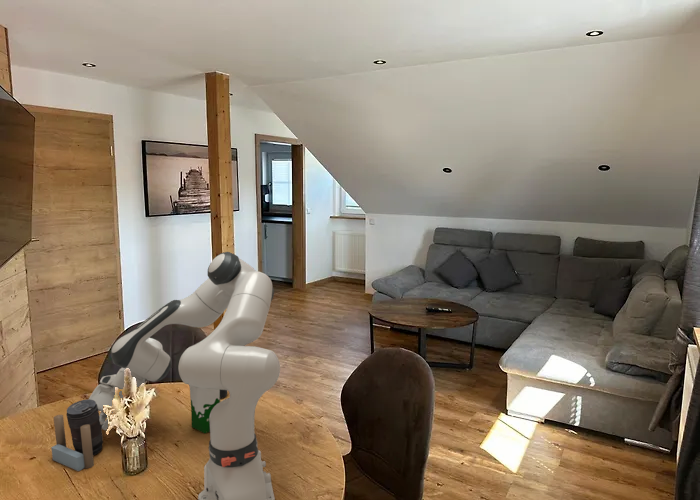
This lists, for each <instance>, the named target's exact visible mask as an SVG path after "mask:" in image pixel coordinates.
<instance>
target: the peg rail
mask: <svg viewBox="0 0 700 500" xmlns="http://www.w3.org/2000/svg"><path fill="white" fill-rule="evenodd" d="M53 423H54V424H53V425H54V433H55V443H56V444H55V445H53V446H51V447H50V448H51V457H52V458H51V459H52V461H55V462H56V463H59V464H60V465H63V466H66V467H67V468H70V469H71V470H75V471H76V472H80V471H81V470H83V469H91V468H92V467H94V465H95V463H94V456H93V451H92V441H91V430H90V425H89V424H86V425H83V426H81V427H80V429H81V439H82V449H83V454H82V453H79V452H77V451H75V449H72V448H69V447H68V446H67V441H66V439H67V438H66V431H65V430H66V429H65V421H64V415H63V414H57V415H55V416H53Z"/></svg>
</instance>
